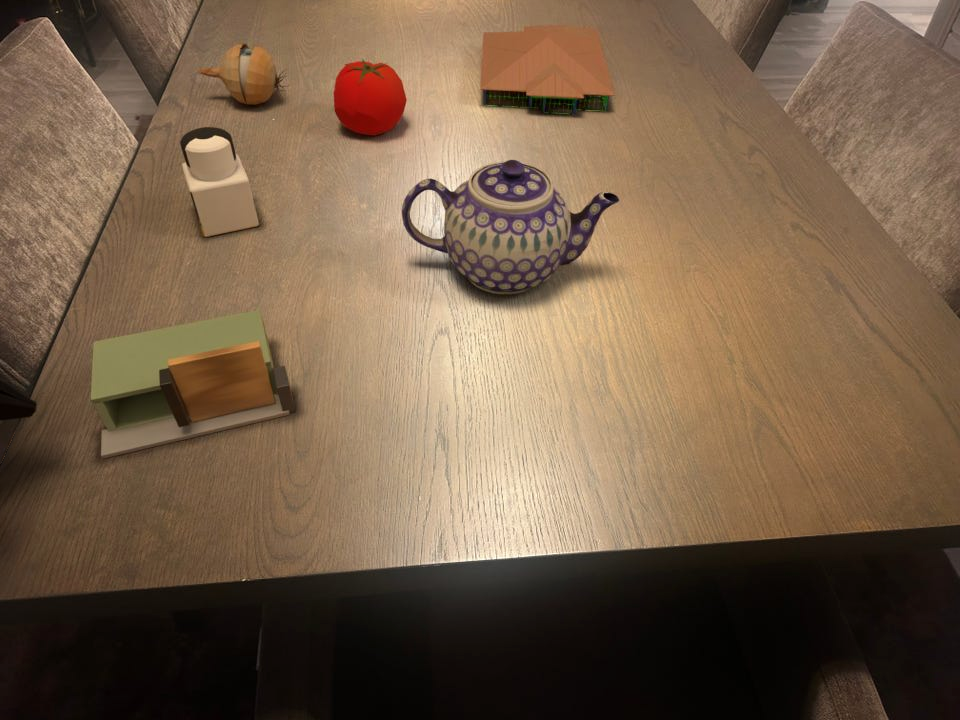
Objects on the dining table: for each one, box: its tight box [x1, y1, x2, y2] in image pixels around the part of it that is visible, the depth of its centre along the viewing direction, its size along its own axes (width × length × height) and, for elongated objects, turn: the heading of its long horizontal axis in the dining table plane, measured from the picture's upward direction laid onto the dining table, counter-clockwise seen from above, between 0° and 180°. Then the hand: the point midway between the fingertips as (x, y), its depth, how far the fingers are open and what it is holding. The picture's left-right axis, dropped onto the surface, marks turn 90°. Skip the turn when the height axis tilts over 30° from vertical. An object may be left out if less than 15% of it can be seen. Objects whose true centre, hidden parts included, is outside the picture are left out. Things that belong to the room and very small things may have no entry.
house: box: [480, 24, 616, 115], centre depth 123 cm, size 23×33×8 cm
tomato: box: [333, 58, 408, 137], centre depth 106 cm, size 12×12×10 cm
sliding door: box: [159, 341, 276, 427], centre depth 63 cm, size 9×2×8 cm, turn 110°
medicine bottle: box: [179, 126, 260, 238], centre depth 86 cm, size 7×7×12 cm
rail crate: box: [90, 309, 296, 459], centre depth 67 cm, size 18×11×5 cm, turn 110°
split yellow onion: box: [197, 41, 290, 106], centre depth 111 cm, size 9×9×15 cm
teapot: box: [401, 159, 620, 295], centre depth 79 cm, size 25×15×15 cm, turn 86°
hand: (34, 410), depth 58 cm, fingers closed
